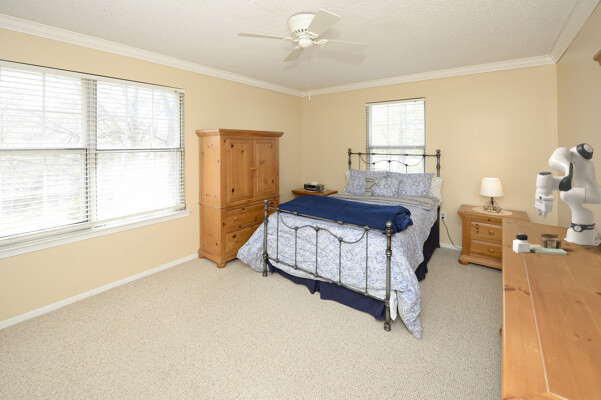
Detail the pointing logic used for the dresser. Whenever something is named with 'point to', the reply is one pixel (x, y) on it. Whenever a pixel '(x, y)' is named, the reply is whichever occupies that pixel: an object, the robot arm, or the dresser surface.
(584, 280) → the dresser surface
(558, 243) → the brown wooden piece
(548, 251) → the board
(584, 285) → the dresser surface
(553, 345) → the dresser surface
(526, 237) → the medicine bottle
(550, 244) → the block
